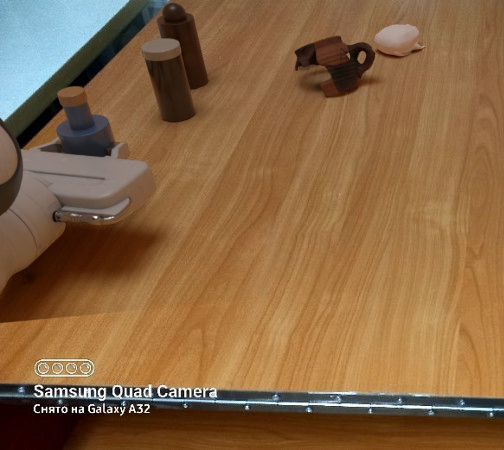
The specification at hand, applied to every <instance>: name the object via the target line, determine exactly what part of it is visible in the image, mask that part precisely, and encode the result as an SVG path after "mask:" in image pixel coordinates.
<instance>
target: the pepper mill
mask: <svg viewBox="0 0 504 450" xmlns="http://www.w3.org/2000/svg"><path fill="white" fill-rule="evenodd" d="M156 24H157V27H158V30H159V31H158V32H159V35H160V39H175V40H177V41H179V43H180V47H181V54H182V58H183V62H184V66H185V70H186V74H187V78H188V82H189V86H190V90H196V89H198V88H202V87H203V86H205V85H207V84H208V83H209V77H208V73H207V68H206V63H205V60H204V55H203V51H202V46H201V43H200V38H199V34H198V30H197V25H196V20H195V16H194V15H193V14H192V13H189V12H186V9H185V8H184V7H183V6H182V5H181V4H179V3H177V2H169V3H167V4H165V5H164V6H163V8H162V10H161V16H159V17H158V18H157V19H156Z"/></svg>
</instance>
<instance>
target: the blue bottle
mask: <svg viewBox="0 0 504 450" xmlns="http://www.w3.org/2000/svg"><path fill="white" fill-rule="evenodd" d="M56 96H57V99H58V100H59V104H60V105H61V106H62V109H63V111H64V114H65V117H66V119H65V120H63V121H62V122H60V123H59V124H58V125H57V126H56V128H55V133H56V134H57V137H59V140H60V143H61V145H62V148H63V151H64V153H65V154H74V155H84V156H95V157H105V156H109V154H108V153H107V151H106V147H107V146H108V145H110V144H111V143H112V142H117V141H116V138H115V135H114V133H113V129H112V126H111V123H110V120H109V118H108V117H106V116H105V115H102V114H97V113H92V111H91V108H90V105H89V102H88V96H87V93H86V90H85V88H84V87H82V86H79V85H78V86H77V85H76V86H75V85H73V86H68V87H64V88H61V89H60V90H58V91H57V94H56Z"/></svg>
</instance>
